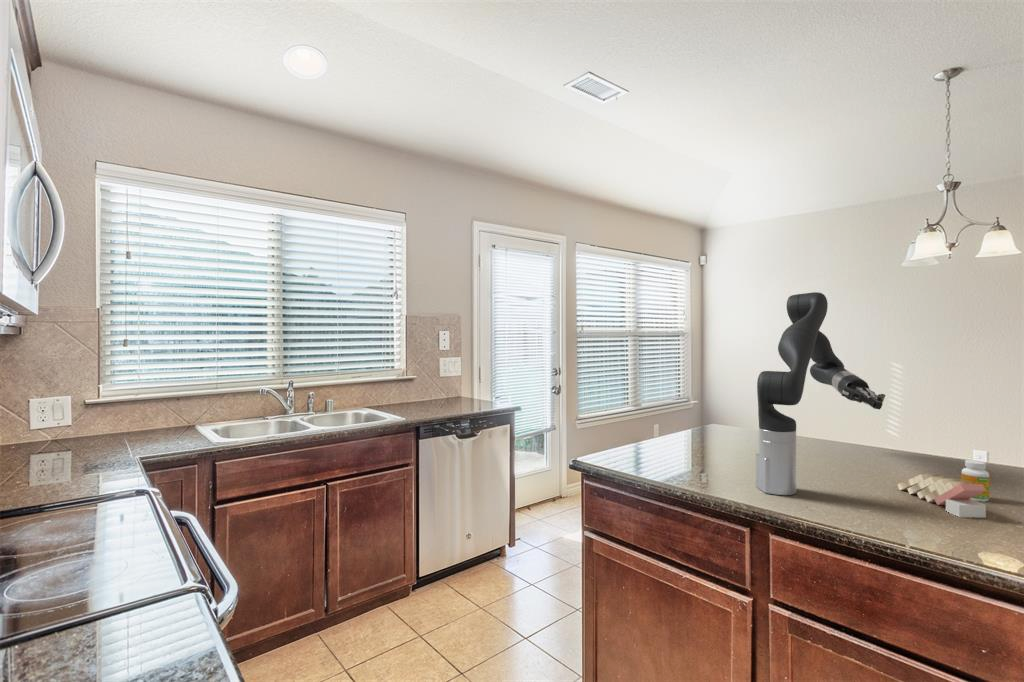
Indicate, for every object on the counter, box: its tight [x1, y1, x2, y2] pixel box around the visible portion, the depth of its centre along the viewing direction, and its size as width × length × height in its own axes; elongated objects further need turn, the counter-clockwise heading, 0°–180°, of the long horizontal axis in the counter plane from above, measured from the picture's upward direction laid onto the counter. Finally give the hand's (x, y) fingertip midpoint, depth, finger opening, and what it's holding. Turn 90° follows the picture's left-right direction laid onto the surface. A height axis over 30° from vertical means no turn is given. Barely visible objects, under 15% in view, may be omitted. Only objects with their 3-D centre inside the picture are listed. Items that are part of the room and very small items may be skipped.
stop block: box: [945, 499, 987, 519], centre depth 121 cm, size 6×4×3 cm, turn 88°
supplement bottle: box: [960, 459, 990, 503], centre depth 132 cm, size 5×5×10 cm
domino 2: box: [906, 476, 953, 495], centre depth 132 cm, size 5×2×10 cm
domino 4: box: [925, 482, 972, 503], centre depth 126 cm, size 5×2×10 cm
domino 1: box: [896, 473, 943, 491], centre depth 135 cm, size 5×2×10 cm
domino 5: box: [934, 484, 986, 506], centre depth 123 cm, size 5×2×10 cm
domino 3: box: [917, 478, 963, 500], centre depth 128 cm, size 5×2×10 cm
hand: (878, 406), depth 149 cm, fingers closed
